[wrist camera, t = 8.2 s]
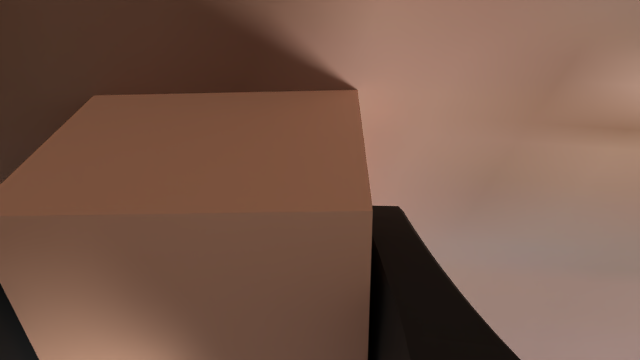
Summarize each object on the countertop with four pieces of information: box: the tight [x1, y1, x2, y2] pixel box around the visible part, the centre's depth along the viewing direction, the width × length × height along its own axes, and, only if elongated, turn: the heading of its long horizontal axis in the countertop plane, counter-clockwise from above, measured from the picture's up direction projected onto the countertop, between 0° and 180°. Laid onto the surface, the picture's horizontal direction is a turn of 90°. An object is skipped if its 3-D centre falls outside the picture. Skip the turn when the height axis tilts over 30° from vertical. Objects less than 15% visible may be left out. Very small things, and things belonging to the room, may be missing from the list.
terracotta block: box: [0, 90, 373, 360], centre depth 9 cm, size 5×5×4 cm
